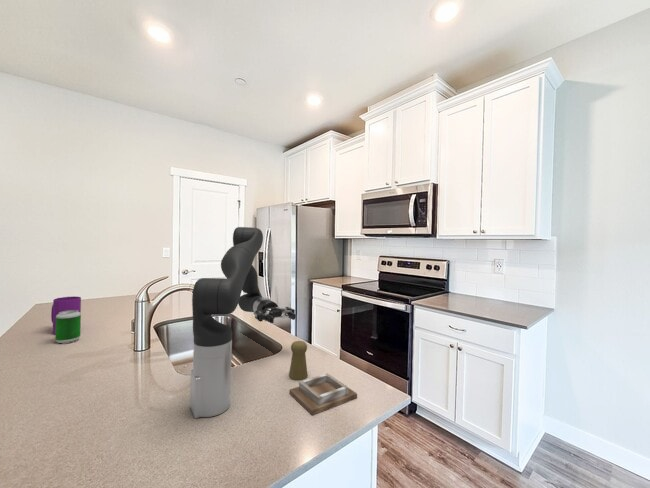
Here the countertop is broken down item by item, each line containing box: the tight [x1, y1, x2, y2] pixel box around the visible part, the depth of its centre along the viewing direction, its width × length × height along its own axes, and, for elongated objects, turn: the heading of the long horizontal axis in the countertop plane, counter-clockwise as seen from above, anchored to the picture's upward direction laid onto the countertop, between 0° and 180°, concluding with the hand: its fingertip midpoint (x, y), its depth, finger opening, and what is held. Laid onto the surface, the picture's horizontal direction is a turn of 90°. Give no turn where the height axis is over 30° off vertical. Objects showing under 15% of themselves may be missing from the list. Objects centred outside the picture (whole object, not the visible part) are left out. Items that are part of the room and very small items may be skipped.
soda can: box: [55, 310, 82, 344], centre depth 116 cm, size 8×8×12 cm
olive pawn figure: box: [288, 340, 309, 382], centre depth 92 cm, size 6×6×11 cm
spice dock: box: [288, 373, 358, 416], centre depth 81 cm, size 15×12×3 cm
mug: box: [50, 296, 82, 335], centre depth 128 cm, size 9×16×15 cm, turn 68°
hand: (283, 318), depth 101 cm, fingers open, 8 cm apart
